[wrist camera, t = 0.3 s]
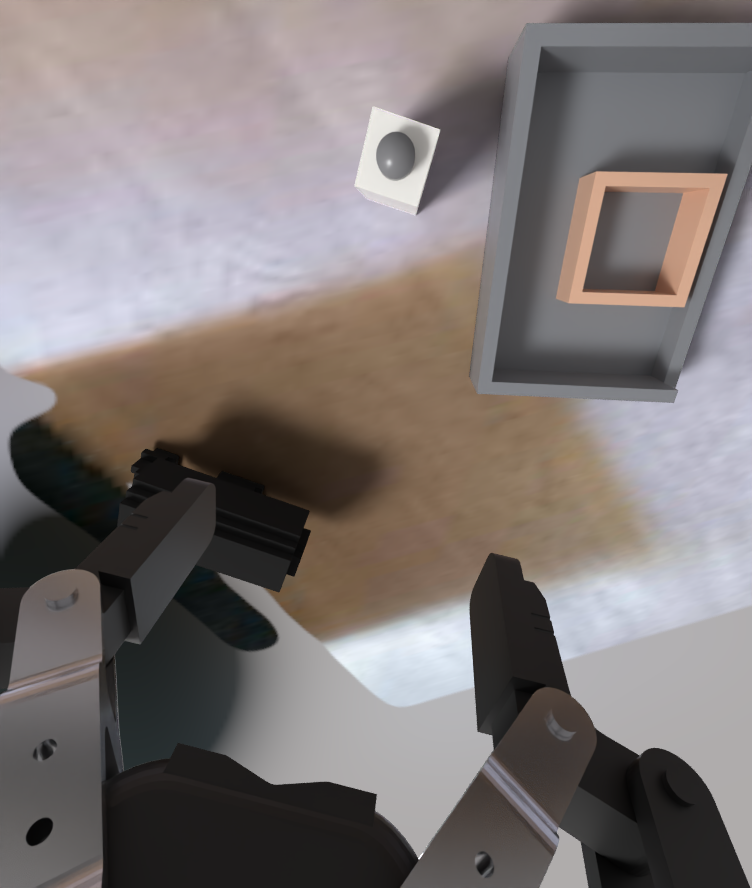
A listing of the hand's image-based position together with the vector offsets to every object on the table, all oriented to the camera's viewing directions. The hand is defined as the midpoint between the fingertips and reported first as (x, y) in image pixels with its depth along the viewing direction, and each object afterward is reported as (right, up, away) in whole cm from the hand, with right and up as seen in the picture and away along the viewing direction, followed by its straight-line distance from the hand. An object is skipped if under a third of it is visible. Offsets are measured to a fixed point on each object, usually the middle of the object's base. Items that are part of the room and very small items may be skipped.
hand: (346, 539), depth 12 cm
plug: (+3, +23, +20) cm, 30 cm away
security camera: (-14, -2, +33) cm, 36 cm away
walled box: (+17, +18, +21) cm, 33 cm away
